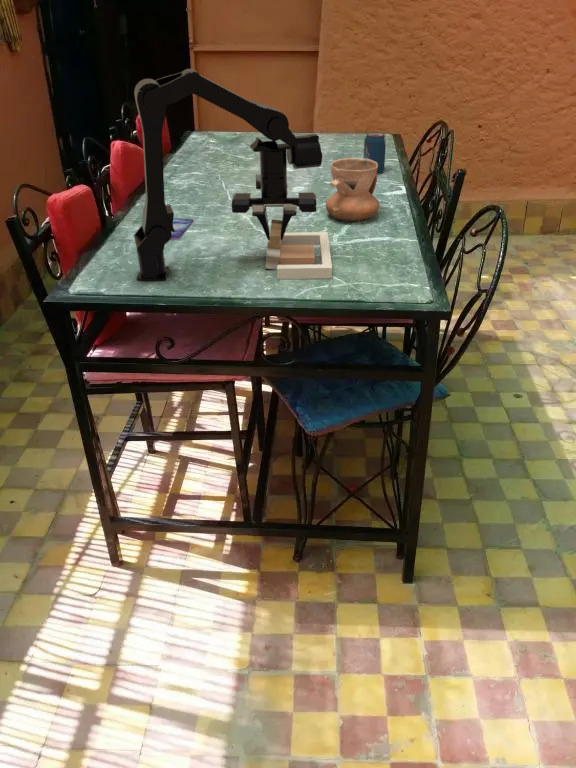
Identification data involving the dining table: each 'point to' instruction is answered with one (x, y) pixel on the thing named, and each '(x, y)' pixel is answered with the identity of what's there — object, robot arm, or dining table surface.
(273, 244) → the beige t-shaped block
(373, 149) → the soda can
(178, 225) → the smartphone
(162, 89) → the robot arm
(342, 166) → the ceramic jug
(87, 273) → the dining table surface
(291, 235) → the beige u-shaped frame
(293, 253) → the tile
